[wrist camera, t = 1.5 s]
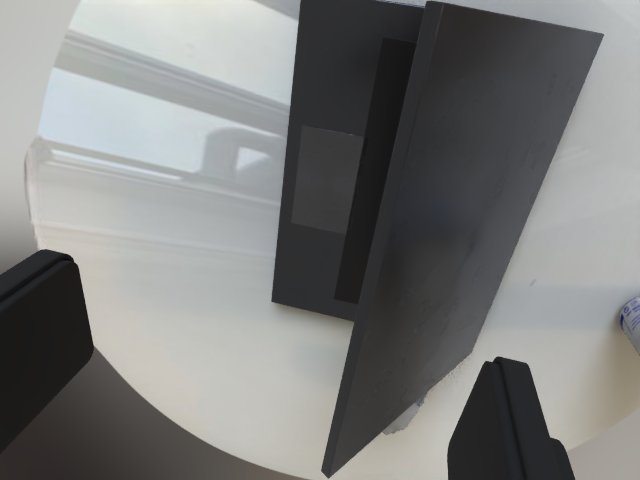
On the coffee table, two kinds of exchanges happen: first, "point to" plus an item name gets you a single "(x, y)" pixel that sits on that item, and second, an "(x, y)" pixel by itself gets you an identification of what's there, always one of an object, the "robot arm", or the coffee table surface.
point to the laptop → (340, 146)
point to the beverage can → (631, 322)
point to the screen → (453, 203)
